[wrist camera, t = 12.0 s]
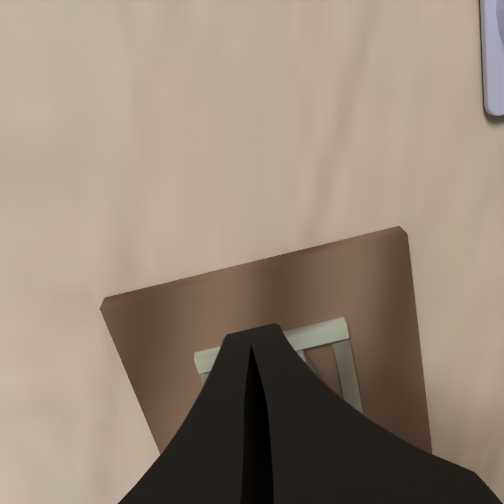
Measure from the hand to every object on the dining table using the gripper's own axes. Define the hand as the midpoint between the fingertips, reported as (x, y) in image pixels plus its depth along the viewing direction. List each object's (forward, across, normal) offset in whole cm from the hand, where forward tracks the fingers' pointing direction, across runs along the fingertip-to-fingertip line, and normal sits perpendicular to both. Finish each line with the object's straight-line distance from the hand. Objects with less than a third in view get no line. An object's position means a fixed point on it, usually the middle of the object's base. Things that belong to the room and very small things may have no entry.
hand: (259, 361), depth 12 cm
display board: (+10, 0, +9) cm, 14 cm away
